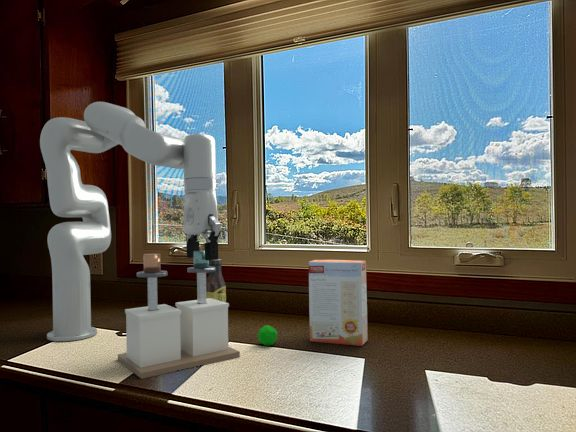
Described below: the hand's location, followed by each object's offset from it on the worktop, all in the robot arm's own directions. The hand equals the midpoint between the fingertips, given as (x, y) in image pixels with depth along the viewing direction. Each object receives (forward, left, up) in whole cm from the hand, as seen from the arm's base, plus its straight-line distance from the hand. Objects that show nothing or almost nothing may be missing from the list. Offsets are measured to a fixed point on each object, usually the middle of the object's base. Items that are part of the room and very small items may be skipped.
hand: (202, 258), depth 110 cm
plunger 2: (0, 0, -13) cm, 13 cm away
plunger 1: (0, -12, -13) cm, 17 cm away
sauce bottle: (-22, +15, -23) cm, 35 cm away
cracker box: (+13, +32, -23) cm, 41 cm away
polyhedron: (+4, +16, -23) cm, 28 cm away
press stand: (0, -6, -23) cm, 23 cm away
